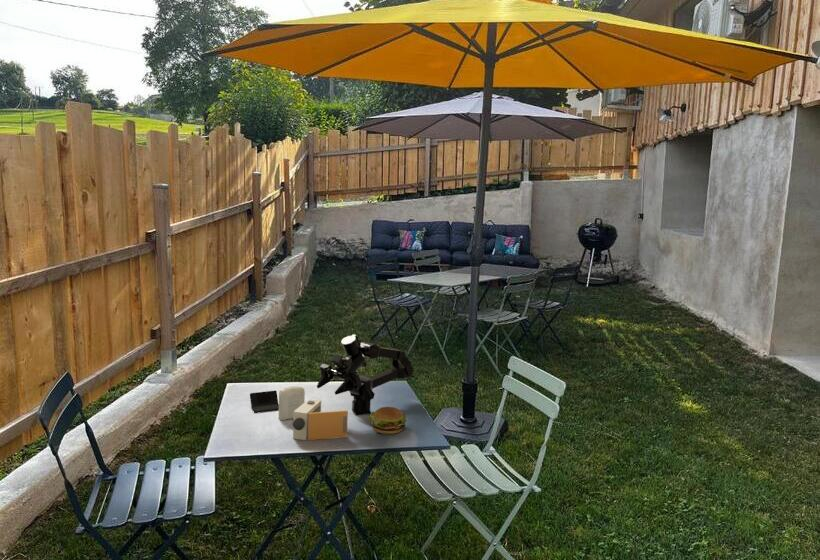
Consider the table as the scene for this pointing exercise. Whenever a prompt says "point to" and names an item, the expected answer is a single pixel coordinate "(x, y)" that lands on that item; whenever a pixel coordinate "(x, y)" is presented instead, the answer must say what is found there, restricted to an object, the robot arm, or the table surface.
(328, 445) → the table surface
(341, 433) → the side door
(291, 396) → the cream rounded slab
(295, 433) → the action camera
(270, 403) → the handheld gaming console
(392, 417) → the food
